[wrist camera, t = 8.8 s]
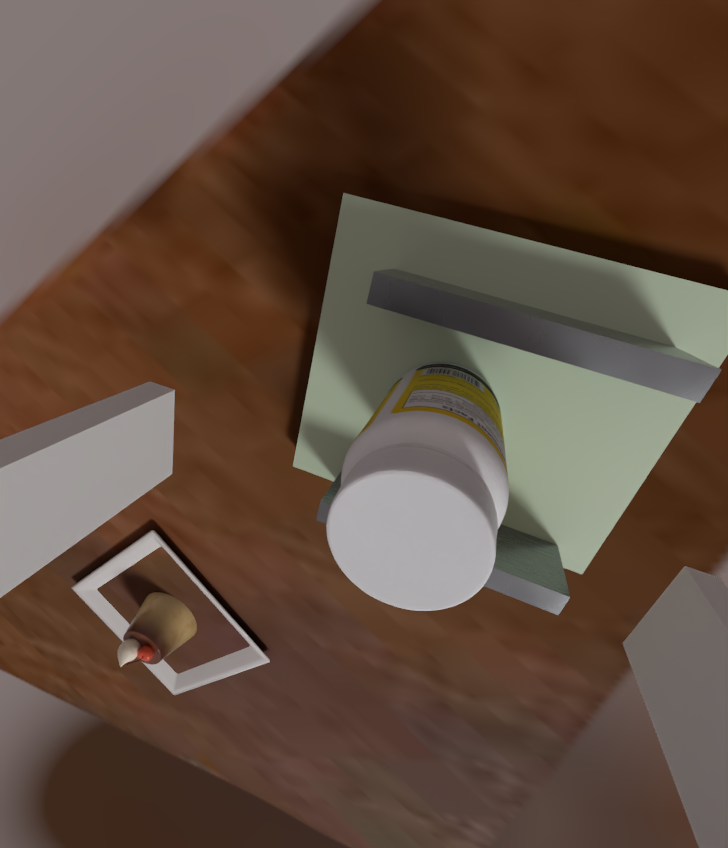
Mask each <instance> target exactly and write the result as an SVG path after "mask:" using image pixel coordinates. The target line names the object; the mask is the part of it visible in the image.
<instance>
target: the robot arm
mask: <svg viewBox="0 0 728 848" xmlns="http://www.w3.org/2000/svg"><path fill="white" fill-rule="evenodd" d="M174 400H175V390H173V389H171V388H168V387H165V386H162V385H159V384H156V383H153V382H147V383H145V384H142V385H140V386H137V387H134V388H132V389H129V390H127V391H124V392H122V393H119V394H116V395H114V396H111V397H109V398H106V399H104V400H101V401H98V402H96V403H93V404H91V405H88V406H86V407H83V408H80V409H78V410H75V411H73V412H70V413H68V414H65V415H62V416H60V417H57V418H55V419H52V420H50V421H47V422H44V423H42V424H39V425H37V426H34V427H32V428H29V429H26V430H24V431H21V432H19V433H16V434H14V435H11V436H8V437H6V438H3V439H1V440H0V598H1V597H2V596H3V595H5V594H6V593H8V592H9V591H10V590H12V589H13V588H15V587H16V586H17V585H19V584H20V583H21V582H23V581H24V580H26V579H27V578H28V577H30V576H31V575H33V574H34V573H35V572H37V571H38V570H40V569H41V568H42V567H44V566H45V565H46V564H48V563H49V562H51V561H52V560H53V559H55V558H56V557H58V556H59V555H60V554H62V553H63V552H64V551H66V550H67V549H69V548H70V547H71V546H73V545H74V544H76V543H77V542H78V541H80V540H81V539H83V538H84V537H85V536H87V535H88V534H89V533H91V532H92V531H94V530H95V529H96V528H98V527H99V526H101V525H102V524H103V523H105V522H106V521H107V520H109V519H110V518H112V517H113V516H114V515H116V514H117V513H119V512H120V511H121V510H123V509H124V508H126V507H127V506H128V505H130V504H131V503H132V502H134V501H135V500H137V499H138V498H139V497H141V496H142V495H144V494H145V493H146V492H148V491H149V490H151V489H152V488H153V487H155V486H156V485H157V484H159V483H160V482H162V481H163V480H164V479H166V478H167V477H169V476H170V475H171V474H172V467H173V433H174ZM623 646H624V649H625V651H626V654H627V657H628V659H629V662H630V665H631V667H632V670H633V673H634V675H635V678H636V681H637V683H638V686H639V689H640V691H641V694H642V697H643V699H644V702H645V705H646V707H647V710H648V712H649V715H650V718H651V721H652V723H653V726H654V729H655V731H656V734H657V737H658V739H659V742H660V745H661V747H662V750H663V752H664V755H665V758H666V761H667V763H668V766H669V768H670V771H671V774H672V777H673V779H674V782H675V785H676V787H677V790H678V793H679V795H680V798H681V800H682V803H683V806H684V809H685V811H686V814H687V817H688V819H689V822H690V825H691V827H692V830H693V833H694V835H695V838H696V841H697V843H698V846H699V848H728V588H727V587H726V585H725V584H724V582H723V581H722V580H721V578H718V577H715V576H712V575H709V574H707V573H704V572H701V571H698V570H695V569H692V568H689V567H686V566H684V567H683V569H682V570H681V571H680V572H679V574H678V575H677V576H676V577H675V579H674V580H673V581H672V582H671V584H670V585H669V586H668V587H667V589H666V590H665V591H664V592H663V594H662V595H661V596H660V597H659V599H658V600H657V601H656V602H655V604H654V605H653V606H652V607H651V609H650V610H649V611H648V612H647V614H646V615H645V616H644V617H643V619H642V620H641V621H640V622H639V624H638V625H637V626H636V627H635V628H634V630H633V631H632V632H631V633H630V635H629V636H628V637H627V638H626V640H625V641H624V642H623Z"/></svg>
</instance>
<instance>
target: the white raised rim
mask: <svg viewBox="0 0 728 848" xmlns="http://www.w3.org/2000/svg"><path fill="white" fill-rule="evenodd" d="M159 547H163V548H164V549H165V550H166V551H167V553H168V554H169V555H170V556H171V557H172V558H173V559H174V560H175V562H176V563H177V564H178V565H179V566H180V567H181V568H182V569H183V570H184V572H185V573H186V574H187V575H188V576H189V577H190V578H191V579H192V581H193V582H194V583H195V584H196V585H197V586H198V587H199V588H200V589H201V591H202V592H203V593H204V594H205V595H206V596H207V597H208V598H209V599H210V601H211V602H212V603H213V604H214V605H215V606H216V607H217V608H218V610H219V611H220V612H221V613H222V614H223V615H224V616H225V617H226V618H227V620H228V621H229V622H230V623H231V624H232V625H233V626H234V627H235V629H236V630H237V631H238V632H239V633H240V634H241V635H242V636H243V637H244V639H245V640H246V641H247V642H248V643H249V644H250V647H248V648H245V649H242V650H240V651H237V652H234V653H232V654H229V655H227V656H224V657H221V658H219V659H216V660H214V661H211V662H208V663H206V664H203V665H200V666H198V667H195V668H193V669H190V670H187V671H185V672H182V673H179V674H177V673H175V672H174V670H173V669H172V668H171V667H170V666H169V665H168V664H167V663H166V662H165V661H164V660H163V659H164V658H166V657H167V656H168V655H170V654H171V653H172V652H173V651H175V650H176V649H177V648H178V647H180V646H181V645H182V644H183V643H185V642H186V641H187V640H189V639H190V638H192V637H193V636H194V635H195V633H196V630H197V625H196V621H195V618H194V616H193V615H192V613H191V612H190V610H189V609H188V608H187V607H186V606H185V605H184V604H183V603H182V602H181V601H179V600H178V599H176V598H175V597H173V596H171V595H168V594H165V593H161V592H154V593H151V594H149V595H148V596H147V597H146V598H145V600H144V602H143V604H142V605H141V607H140V609H139V611H138V612H137V614H136V615H135V617H134V619H133V620H132V622H131V624H129V623H128V622H127V621H126V620H125V619H124V618H123V617H122V616H121V615H120V614H119V613H118V612H117V611H116V610H115V609H114V608H113V607H112V605H111V604H110V603H109V602H108V601H107V600H106V599H105V598H104V597H103V596H102V595H101V594H100V593H99V592H98V591H97V588H99V587H100V586H102V585H103V584H105V583H106V582H108V581H109V580H111V579H112V578H114V577H115V576H117V575H118V574H120V573H121V572H123V571H124V570H126V569H127V568H129V567H130V566H132V565H133V564H135V563H136V562H138V561H139V560H141V559H142V558H144V557H145V556H147V555H148V554H150V553H151V552H153V551H154V550H156V549H157V548H159ZM71 588H72V589H73V590H74V592H75V593H76V594H77V595H78V596H79V597H80V598H81V599H82V600H83V601H84V602H85V603H86V604H87V605H88V606H89V607H90V608H91V609H92V610H93V611H94V612H95V613H96V614H97V615H98V617H99V618H100V619H101V620H102V621H103V622H104V623H105V624H106V625H107V626H108V627H109V628H110V629H111V630H112V631H113V632H114V633H115V634H116V635H117V636H118V637H119V638H120V639H121V640H122V643H121V645H120V646H119V648H118V660H119V664H120V667H122V666H123V665H124V664H125V663H127V662H129V661H132V660H134V659H135V658H137V659H138V660H137V661H142V662H143V663H144V664H145V665H146V667H147V668H148V669H149V670H150V671H151V672H152V673H153V674H154V675H155V676H156V677H157V678H158V679H159V680H160V681H161V682H162V683H163V684H164V685H165V686H166V687H167V688H168V689H169V690H170V692H171V693H172V694H173V695H177V694H180V693H183V692H186V691H188V690H191V689H194V688H197V687H200V686H203V685H206V684H208V683H211V682H214V681H217V680H220V679H223V678H226V677H228V676H231V675H234V674H237V673H240V672H243V671H246V670H249V669H251V668H254V667H257V666H260V665H263V664H266V663H269V662H270V660H269V658H268V657H267V656H266V655H265V653H264V652H263V651H262V650H261V649H260V648H259V647H258V645H257V644H256V643H255V642H254V641H253V640H252V639H251V638H250V636H249V635H248V634H247V633H246V632H245V631H244V630H243V629H242V627H241V626H240V625H239V624H238V623H237V622H236V621H235V620H234V619H233V617H232V616H231V615H230V614H229V613H228V612H227V611H226V610H225V608H224V607H223V606H222V605H221V604H220V603H219V602H218V601H217V599H216V598H215V597H214V596H213V595H212V594H211V593H210V592H209V591H208V589H207V588H206V587H205V586H204V585H203V584H202V583H201V582H200V580H199V579H198V578H197V577H196V576H195V575H194V574H193V573H192V571H191V570H190V569H189V568H188V567H187V566H186V565H185V564H184V562H183V561H182V560H181V559H180V558H179V557H178V556H177V555H176V554H175V552H174V551H173V550H172V549H171V548H170V547H169V546H168V545H167V543H166V542H165V541H164V540H163V539H162V538H161V537H160V536H159V535H158V534H157V533H156V532H155V531H154V530H151V531H150V532H148V533H147V534H145V535H144V536H143V537H141V538H140V539H138V540H137V541H136V542H134V543H133V544H131V545H130V546H128V547H127V548H126V549H124V550H123V551H121V552H120V553H119V554H117V555H116V556H114V557H113V558H112V559H110V560H109V561H107V562H106V563H104V564H103V565H102V566H100V567H99V568H97V569H96V570H95V571H93V572H92V573H90V574H89V575H88V576H86V577H85V578H83V579H82V580H80V581H79V582H78V583H76V584H75V585H73V586H72V587H71ZM137 661H134V662H137ZM131 663H133V662H131ZM128 664H130V663H128ZM128 664H127V665H128Z"/></svg>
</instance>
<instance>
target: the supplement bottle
mask: <svg viewBox="0 0 728 848" xmlns="http://www.w3.org/2000/svg"><path fill="white" fill-rule="evenodd" d="M508 498H509V482H508V471H507V464H506V455H505V445H504V436H503V426H502V419H501V411H500V407H499V403H498V400H497V398H496V395H495V394H494V392H493V390H492V389H491V387H490V386H489V385H488V384H487V383H486V381H485V380H484V379H482V378H481V377H480V376H479V375H477V374H476V373H475V372H473V371H471V370H470V369H468V368H465V367H463V366H460V365H456V364H452V363H441V362H440V363H430V364H425V365H422V366H419V367H417V368H414V369H412V370H411V371H409V372H407V373H406V374H405V375H403V376H402V377H401V378H400V379H399V380H398V381H397V382H396V383H395V384H394V385H393V387H392V388H391V389H390V390H389V392H388V394H387V395H386V396H385V398H384V399H383V401H382V402H381V404H380V405H379V407H378V408H377V410H376V411H375V412H374V414H373V415H372V417H371V418H370V420H369V421H368V423H367V424H366V425H365V427H364V428H363V429H362V431H361V432H360V433H359V435H358V436H357V438H356V439H355V440H354V442H353V443H352V445H351V446H350V448H349V450H348V452H347V454H346V456H345V460H344V464H343V467H342V473H341V487H340V489H339V490H338V492H337V494H336V495H335V497H334V499H333V501H332V503H331V506H330V509H329V512H328V516H327V526H326V528H327V538H328V543H329V546H330V549H331V552H332V554H333V556H334V559H335V560H336V562H337V564H338V565H339V567H340V568H341V570H342V571H343V572H344V574H345V575H346V576H347V577H348V578H349V579H350V580H351V581H352V582H353V583H354V584H355V585H356V586H357V587H359V588H360V589H361V590H362V591H364V592H365V593H367V594H368V595H370V596H372V597H373V598H375V599H377V600H380V601H382V602H384V603H387V604H389V605H392V606H395V607H398V608H402V609H407V610H416V611H432V610H441V609H446V608H449V607H453V606H456V605H458V604H460V603H462V602H464V601H466V600H468V599H469V598H471V597H472V596H473V595H475V594H476V593H477V592H478V591H479V590H480V589H481V588H482V587H483V586H484V584H485V583H486V582H487V580H488V578H489V576H490V574H491V572H492V570H493V566H494V563H495V558H496V539H497V531H498V528H499V527H500V525H501V523H502V520H503V518H504V516H505V513H506V510H507V505H508Z"/></svg>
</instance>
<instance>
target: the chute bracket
mask: <svg viewBox="0 0 728 848" xmlns="http://www.w3.org/2000/svg"><path fill="white" fill-rule="evenodd" d="M366 304H369V305H372V306H375V307H379V308H382V309H385V310H389V311H392V312H395V313H399V314H402V315H406V316H409V317H412V318H416V319H419V320H422V321H426V322H429V323H433V324H436V325H439V326H443V327H446V328H449V329H453V330H456V331H459V332H463V333H466V334H470V335H473V336H476V337H480V338H483V339H486V340H490V341H493V342H496V343H500V344H503V345H507V346H510V347H513V348H517V349H520V350H523V351H527V352H530V353H533V354H537V355H540V356H544V357H547V358H550V359H554V360H557V361H560V362H564V363H567V364H571V365H574V366H577V367H581V368H584V369H587V370H591V371H594V372H597V373H601V374H604V375H608V376H611V377H614V378H618V379H621V380H624V381H628V382H631V383H634V384H638V385H641V386H645V387H648V388H651V389H655V390H658V391H661V392H665V393H668V394H671V395H675V396H678V397H682V398H685V399H688V400H692V401H695V402H698V403H700V402H701V400H702V399H703V397H704V396H705V394H706V393H707V391H708V390H709V388H710V387H711V385H712V384H713V382H714V381H715V379H716V378H717V376H718V375H719V373H720V372H721V369H719V368H717V367H715V366H713V365H711V364H709V363H707V362H705V361H703V360H701V359H699V358H697V357H695V356H693V355H691V354H689V353H687V352H685V351H683V350H681V349H678V348H676V347H673V346H670V345H666V344H663V343H659V342H656V341H652V340H648V339H645V338H641V337H638V336H634V335H630V334H627V333H623V332H620V331H616V330H613V329H609V328H605V327H602V326H598V325H595V324H591V323H588V322H584V321H580V320H577V319H573V318H570V317H566V316H563V315H559V314H555V313H552V312H548V311H545V310H541V309H537V308H534V307H530V306H527V305H523V304H520V303H516V302H512V301H509V300H505V299H502V298H498V297H495V296H491V295H487V294H484V293H480V292H477V291H473V290H470V289H466V288H462V287H459V286H455V285H452V284H448V283H444V282H441V281H437V280H434V279H430V278H427V277H423V276H419V275H416V274H412V273H409V272H405V271H402V270H398V269H387V270H380V271H374V273H373V277H372V282H371V286H370V290H369V295H368V299H367V303H366ZM341 473H342V470H341V472H340V473H339V475H338V476H337V478H336V479H335V481H334V482H333V484H332V485H331V487H330V488H329V490H328V491H327V492H326V494H325V495H324V497H323V498H322V500H321V501H320V506H319V510H318V514H317V519H316V520H317V521H320V522H322V523H325V524H327V516H328V512H329V509H330V506H331V503H332V501H333V499H334V497H335V495H336V494H337V492H338V490H339V489H340V487H341ZM484 586H485V587H488V588H490V589H493V590H495V591H498V592H500V593H503V594H505V595H508V596H510V597H513V598H516V599H518V600H521V601H523V602H526V603H528V604H531V605H533V606H536V607H538V608H541V609H543V610H546V611H549V612H551V613H554V614H556V615H559V613H560V612H561V610H562V609H563V607H564V606H565V604H566V603H567V601H568V600H569V598H570V594H569V590H568V586H567V582H566V578H565V574H564V569H563V565H562V561H561V557H560V553H559V548H558V545H556V544H554V543H551V542H548V541H545V540H543V539H540V538H537V537H534V536H532V535H529V534H526V533H524V532H521V531H518V530H515V529H513V528H510V527H507V526H504V525H502V524H501V525H500V527H499V528H498V531H497V539H496V558H495V563H494V566H493V570H492V572H491V574H490V576H489V578H488V580H487V582H486V583H485V584H484Z"/></svg>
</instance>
